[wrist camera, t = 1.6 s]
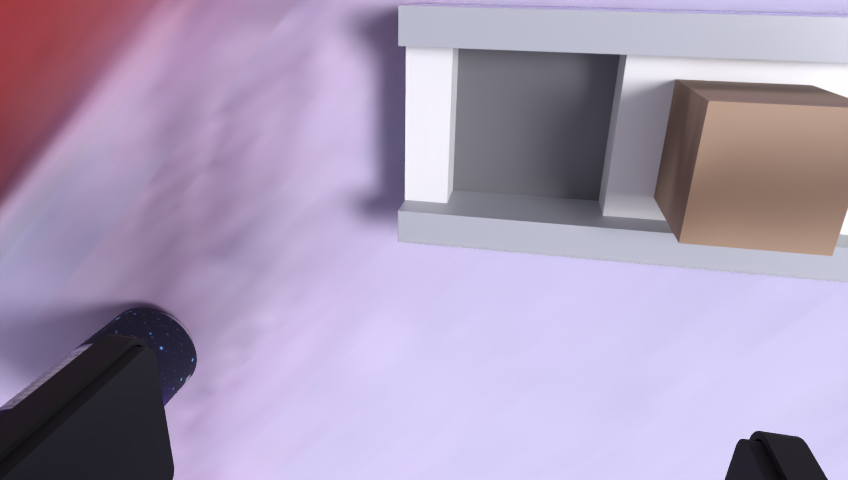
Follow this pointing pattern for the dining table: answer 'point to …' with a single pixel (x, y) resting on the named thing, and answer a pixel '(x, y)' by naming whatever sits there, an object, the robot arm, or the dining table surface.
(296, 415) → the dining table surface
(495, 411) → the dining table surface
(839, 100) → the walnut block
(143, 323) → the beverage can
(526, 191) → the trap track
